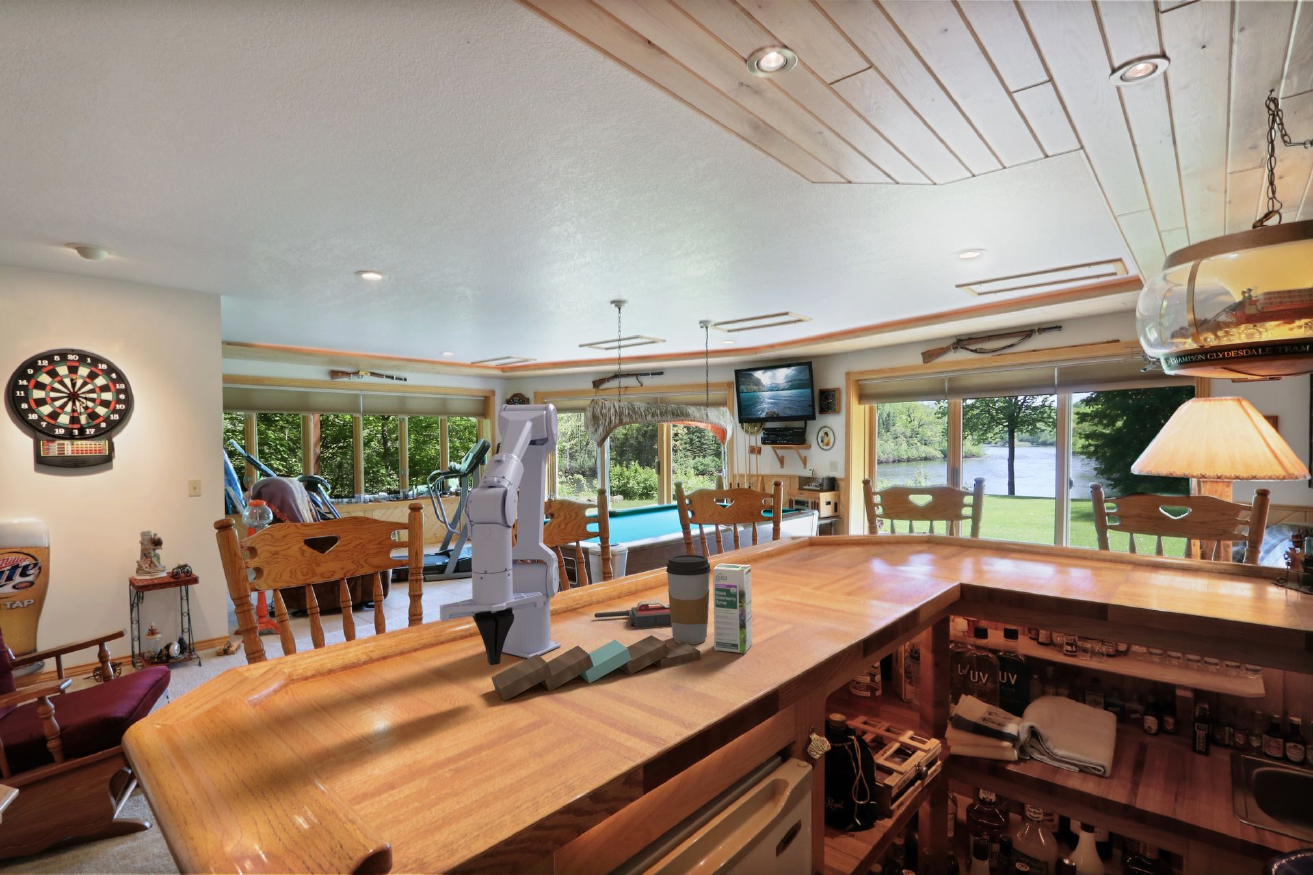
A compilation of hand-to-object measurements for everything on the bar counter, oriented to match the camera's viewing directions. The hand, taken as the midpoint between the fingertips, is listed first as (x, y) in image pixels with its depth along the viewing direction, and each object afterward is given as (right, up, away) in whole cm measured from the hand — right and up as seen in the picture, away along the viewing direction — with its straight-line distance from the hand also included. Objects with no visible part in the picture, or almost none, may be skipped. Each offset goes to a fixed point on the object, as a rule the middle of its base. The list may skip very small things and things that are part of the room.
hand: (493, 662), depth 88 cm
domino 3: (+12, -4, +6) cm, 14 cm away
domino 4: (+18, -4, +9) cm, 21 cm away
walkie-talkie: (+21, -5, +36) cm, 42 cm away
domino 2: (+6, -4, +3) cm, 8 cm away
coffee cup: (+30, -5, +24) cm, 39 cm away
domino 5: (+23, -4, +12) cm, 27 cm away
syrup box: (+38, -5, +19) cm, 42 cm away
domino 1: (+1, -4, 0) cm, 4 cm away
